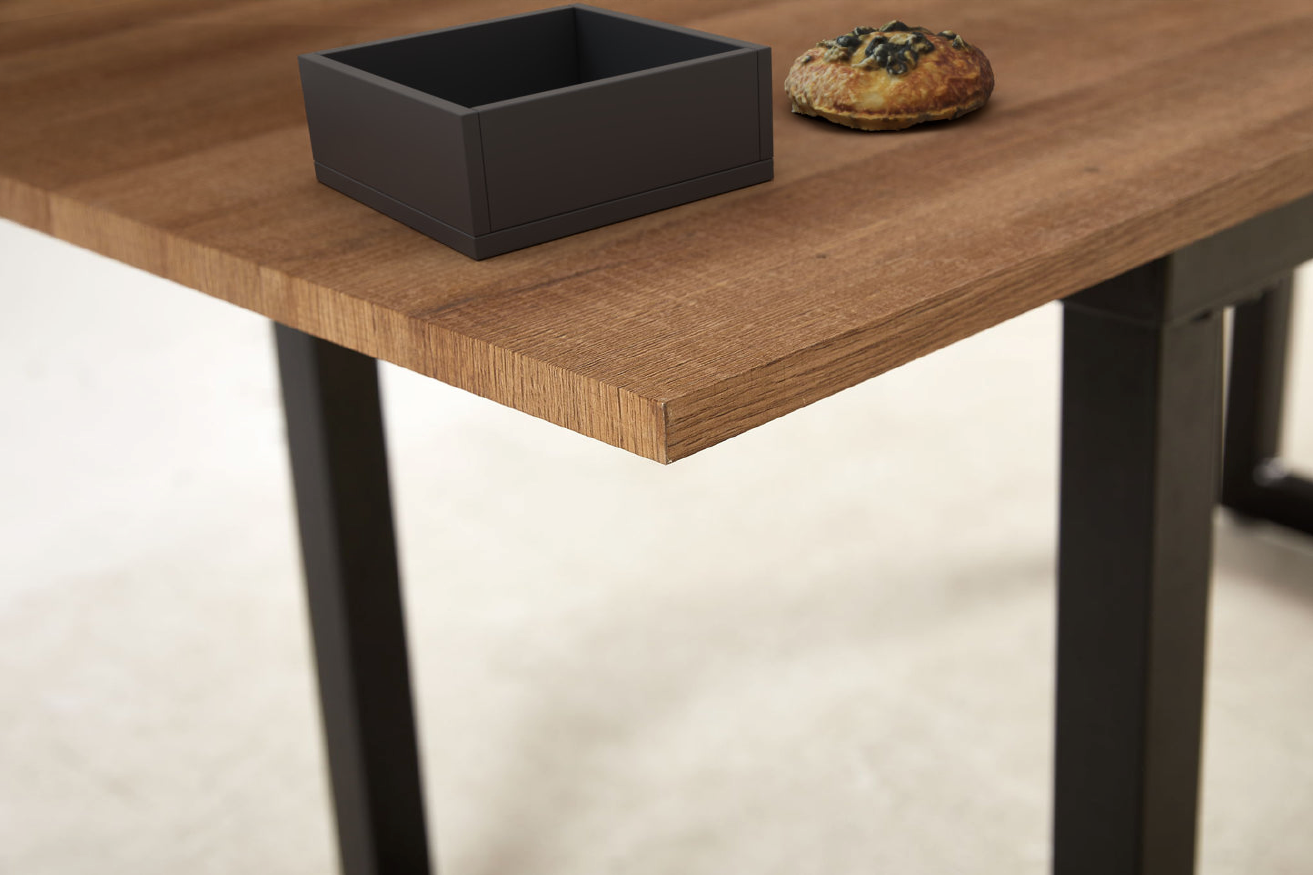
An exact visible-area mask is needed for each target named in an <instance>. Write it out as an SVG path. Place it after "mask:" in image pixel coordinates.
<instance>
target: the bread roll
mask: <svg viewBox="0 0 1313 875" xmlns="http://www.w3.org/2000/svg"><path fill="white" fill-rule="evenodd" d="M995 82H996V81H995V74H994V71H993V68H992V64H991V62H990V60H989V58H988V57H987V56H986V55H985V53H984V52H983V50H982V49H980V48H979V47H977V46H975V45H974V43H972V42H967V41H966V40H964V39H963V38H962V36H961V35H959V34H957V33H956V32H954V31H953V30H951V29H950V30H943V31H940V32H938V33H933V31H931V30H929V29H928V28H926V27H923V26H919V25H918V26H909V25H907V24H905V23H904V22H903V21H899V20H897V19H894V20H891V21H888V22H886V23H885V24H883V25H881V27H880V28H878V27H872V26H870V25H869V26H868V25H867V26H866V25H865V26H857V27H855V28H854V29H853V30H852V31H850V32H848V33H846V34H845V35H843V34H841V35H838V36H837V37H836V38H830V39H829V40H828V39H825V38H824V39H823V40H822V41H820V42H816V45H815V47H812V48H809V49H808V50H806V51H805V52H804V53H802V55H800V56H798V57H797V58H796V59H795V61H794V63H793V65H792V66H791V67H790V70H789V72H788V76H787V78H785V81H784V84H783V85H784V91H785V94H786V95H787V97H788V98H789V100H791V102H792V105H791V106H792V108H791V109H792V110H791V112H792V113H798V114H800V113H801V115H806V114H807V115H808V116H811V117H817V116H819V117H823V118H824V119H827V120H828V121H829V122H832V123H834V124H835V123H836V124H840V125H843V126H846V127H850V129H857V130H858V129H859V130H864V131H880V130H881V131H882V130H884V131H887V130H888V131H889V130H895V131H896V132H900V130H901V129H908V128H910V127H911V126H913V125H916V124H917V123H919V124H922V123H924V122H926V121H928V122H929V121H930V122H931V121H938V120H939V121H940V120H945V119H946V120H947V119H948V120H949V121H951V120H955V119H957V118H960V117H962V116H964V115H965V114H967V113H970V112H973V111H976V110H978V109H981V108H982V107H983V106H985V105H986V104H987V103H988V102H989V100H990V98H991V96H992V93H993V92H994V88H995V85H996V83H995Z"/></svg>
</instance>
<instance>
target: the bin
mask: <svg viewBox="0 0 1313 875" xmlns="http://www.w3.org/2000/svg"><path fill="white" fill-rule="evenodd" d="M772 52H773V51H772V47H771V46H768V45H764V44H761V43H756V42H751V41H747V40H742V39H738V38H734V37H729V36H725V35H722V34H721V35H720V34H716V33H712V32H707V31H703V30H699V29H694V28H690V27H685V26H681V25H677V24H673V23H670V22H669V23H668V22H664V21H660V20H655V19H651V18H646V17H642V16H638V15H634V14H629V13H625V12H622V11H621V12H620V11H616V10H612V9H608V8H603V7H599V6H594V5H590V4H586V3H581V2H574V3H569V4H564V5H559V6H553V7H548V8H542V9H537V10H532V11H526V12H521V13H515V14H510V15H505V16H504V15H503V16H499V17H494V18H488V19H484V20H478V21H473V22H467V23H462V24H457V25H451V26H445V27H441V28H435V29H430V30H429V29H428V30H425V31H420V32H414V33H408V34H403V35H398V36H392V37H386V38H382V39H376V40H371V41H366V42H359V43H354V44H349V45H344V46H339V47H333V48H328V49H322V50H317V51H313V52H307V53H302V54H298V55H297V64H298V70H299V76H300V84H301V90H302V94H303V96H302V97H303V101H304V108H305V115H306V121H307V128H308V134H309V141H310V147H311V154H312V159H313V165H314V170H315V171H314V172H315V178H316V181H318V182H320V183H322V184H324V185H325V186H328V187H330V188H332V189H334V190H336V191H337V192H340V193H341V194H344V195H345V196H347V197H349V198H352V199H354V200H356V201H358V202H359V203H362V204H363V205H366V206H368V207H370V208H371V209H374V210H376V211H378V212H380V213H381V214H384V215H385V216H388V217H390V218H392V219H393V220H395V221H398V222H400V223H401V224H404V225H405V226H407V227H410V228H411V229H414V230H415V231H417V232H419V233H422V234H424V235H425V236H427V237H429V238H432V239H433V240H436V241H437V242H440V243H442V244H443V245H445V246H447V247H449V248H451V249H454V250H456V251H457V252H460V253H461V254H463V255H466V256H468V257H469V258H471V259H473V260H475V261H480V260H484V259H487V258H492V257H496V256H497V255H502V254H506V253H510V252H513V251H517V250H521V249H523V248H528V247H531V246H534V245H539V244H541V243H542V244H543V243H545V242H549V241H554V240H557V239H560V238H564V237H567V236H571V235H575V234H577V233H578V234H579V233H582V232H586V231H589V230H592V229H596V228H600V227H603V226H607V225H611V224H615V223H619V222H622V221H626V220H629V219H632V218H636V217H640V216H643V215H647V214H651V213H654V212H658V211H661V210H666V209H669V208H673V207H676V206H680V205H684V204H687V203H691V202H694V201H699V200H702V199H705V198H709V197H713V196H716V195H720V194H724V193H727V192H730V191H734V190H738V189H742V188H745V187H748V186H753V185H756V184H760V183H763V182H767V181H771V180H774V179H775V161H774V160H775V159H774V158H775V157H774V156H775V155H774V154H775V148H774V104H773V103H774V102H773V101H774V100H773V98H774V97H773V96H774V95H773V56H772Z"/></svg>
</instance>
